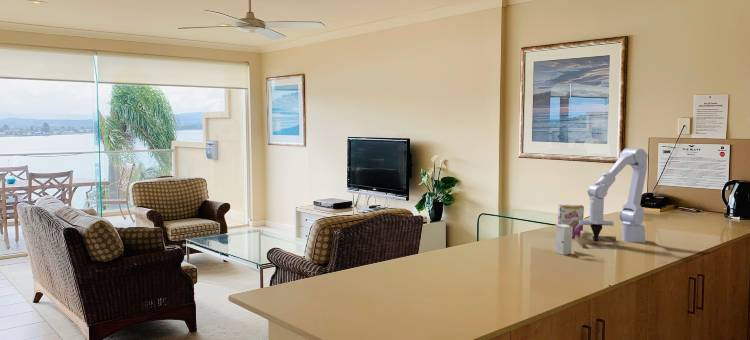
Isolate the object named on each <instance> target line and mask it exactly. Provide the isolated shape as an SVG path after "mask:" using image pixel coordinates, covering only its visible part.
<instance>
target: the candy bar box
mask: <svg viewBox="0 0 750 340" xmlns="http://www.w3.org/2000/svg"><path fill="white" fill-rule="evenodd" d="M557 207H558V212H557V214H558V215H557V225H561V224H565V225H569V226H572V227H573V232H572V238H575V235H581V231H584V230H583V229H584V225H580V224H579V220H584V213H585V211H584V210H585V209H584V205H582V204H572V203H571V204H569V203H568V204H567V203H566V204H564V203H559V204H558V206H557Z"/></svg>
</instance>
